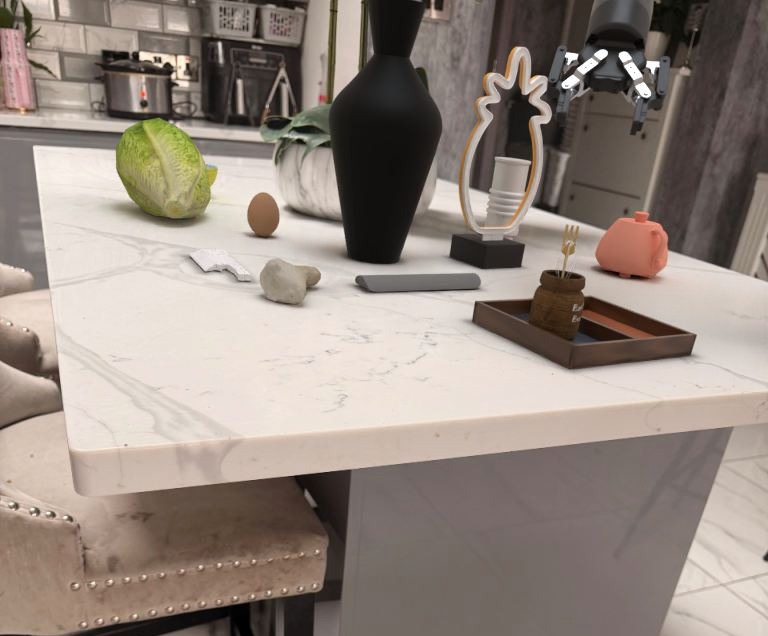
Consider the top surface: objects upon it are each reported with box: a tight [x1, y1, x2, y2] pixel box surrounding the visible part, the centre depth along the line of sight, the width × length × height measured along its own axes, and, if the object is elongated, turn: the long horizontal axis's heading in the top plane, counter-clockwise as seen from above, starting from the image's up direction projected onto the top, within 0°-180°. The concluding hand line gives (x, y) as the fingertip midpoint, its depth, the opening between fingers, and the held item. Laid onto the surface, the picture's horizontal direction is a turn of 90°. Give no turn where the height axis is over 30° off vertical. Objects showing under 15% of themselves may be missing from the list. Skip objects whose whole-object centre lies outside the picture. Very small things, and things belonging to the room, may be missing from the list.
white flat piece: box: [188, 247, 252, 282], centre depth 106 cm, size 5×15×1 cm, turn 24°
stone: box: [259, 257, 322, 305], centre depth 97 cm, size 11×6×5 cm, turn 173°
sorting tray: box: [471, 294, 698, 370], centre depth 93 cm, size 20×18×3 cm
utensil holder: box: [528, 224, 586, 340], centre depth 88 cm, size 6×6×12 cm
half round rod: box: [354, 272, 482, 293], centre depth 109 cm, size 4×20×2 cm, turn 120°
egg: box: [246, 191, 281, 237], centre depth 128 cm, size 5×5×7 cm
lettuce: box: [115, 117, 212, 219], centre depth 134 cm, size 15×25×16 cm
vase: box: [327, 0, 443, 265], centre depth 115 cm, size 17×17×35 cm
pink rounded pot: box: [594, 211, 669, 279], centre depth 132 cm, size 12×14×10 cm
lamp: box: [449, 46, 553, 270], centre depth 123 cm, size 17×9×32 cm, turn 125°
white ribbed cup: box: [483, 156, 532, 241], centre depth 145 cm, size 7×7×15 cm
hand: (598, 125), depth 92 cm, fingers open, 8 cm apart
